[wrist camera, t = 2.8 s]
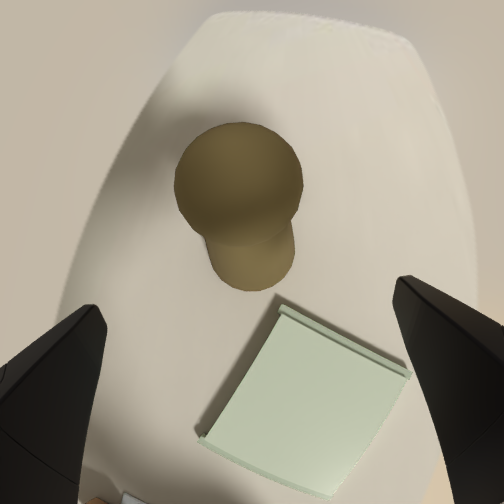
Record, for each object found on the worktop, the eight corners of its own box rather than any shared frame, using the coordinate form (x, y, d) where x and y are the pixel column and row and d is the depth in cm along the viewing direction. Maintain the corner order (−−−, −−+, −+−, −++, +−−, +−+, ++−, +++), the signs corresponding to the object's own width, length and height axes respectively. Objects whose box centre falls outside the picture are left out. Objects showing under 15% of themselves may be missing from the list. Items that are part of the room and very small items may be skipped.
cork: (195, 233, 21) (134, 143, 11) (268, 195, 22) (265, 83, 11) (233, 307, 20) (190, 274, 9) (311, 264, 20) (353, 189, 9)
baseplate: (408, 371, 17) (414, 372, 16) (327, 496, 15) (329, 502, 14) (281, 304, 19) (282, 303, 18) (199, 438, 17) (195, 443, 16)
